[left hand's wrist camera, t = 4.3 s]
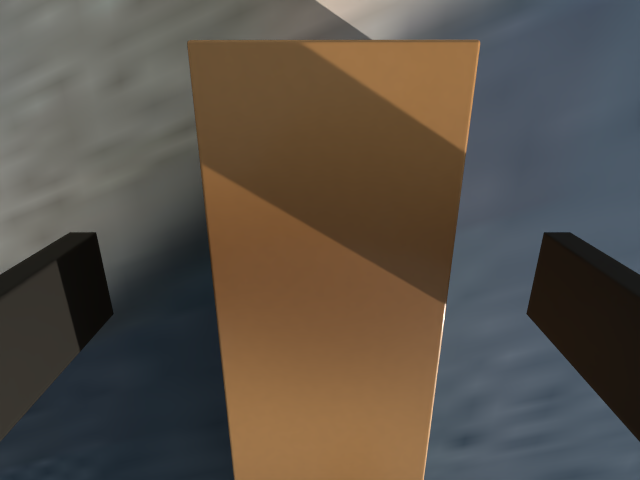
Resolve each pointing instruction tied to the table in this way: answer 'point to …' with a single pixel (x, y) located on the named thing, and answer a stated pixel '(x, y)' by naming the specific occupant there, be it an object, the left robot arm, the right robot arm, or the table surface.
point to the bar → (331, 244)
